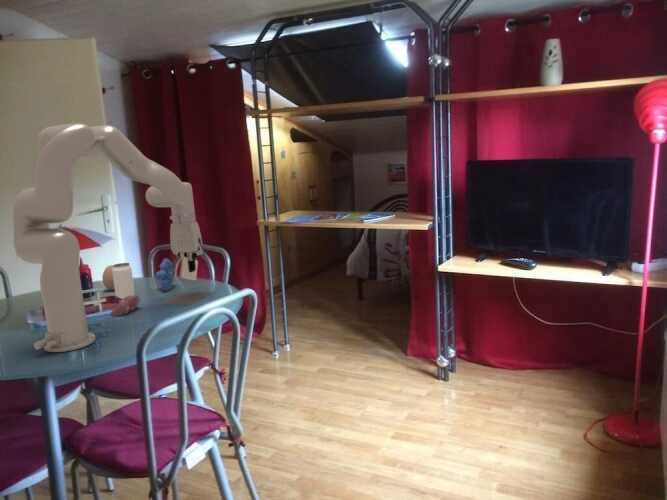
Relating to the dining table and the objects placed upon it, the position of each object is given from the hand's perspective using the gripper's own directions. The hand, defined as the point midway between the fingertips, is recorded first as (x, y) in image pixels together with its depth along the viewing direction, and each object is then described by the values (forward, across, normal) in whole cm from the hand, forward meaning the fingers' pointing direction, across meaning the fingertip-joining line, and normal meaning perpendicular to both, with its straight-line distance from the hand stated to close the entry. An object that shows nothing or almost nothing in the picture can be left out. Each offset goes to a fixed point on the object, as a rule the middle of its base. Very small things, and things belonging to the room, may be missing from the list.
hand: (190, 271), depth 181 cm
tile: (+2, 0, -2) cm, 3 cm away
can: (+9, -26, -3) cm, 28 cm away
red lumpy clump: (+9, -11, -20) cm, 25 cm away
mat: (+9, 0, -3) cm, 10 cm away
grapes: (+10, -16, +7) cm, 20 cm away
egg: (+10, -38, +5) cm, 39 cm away
